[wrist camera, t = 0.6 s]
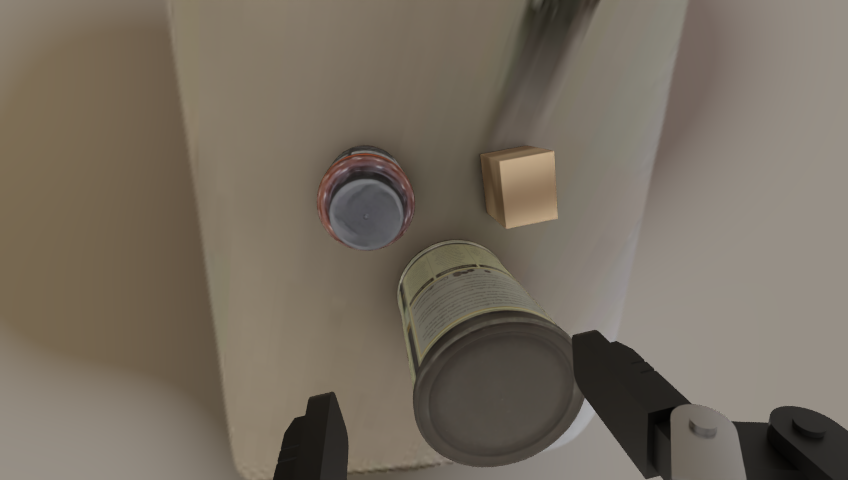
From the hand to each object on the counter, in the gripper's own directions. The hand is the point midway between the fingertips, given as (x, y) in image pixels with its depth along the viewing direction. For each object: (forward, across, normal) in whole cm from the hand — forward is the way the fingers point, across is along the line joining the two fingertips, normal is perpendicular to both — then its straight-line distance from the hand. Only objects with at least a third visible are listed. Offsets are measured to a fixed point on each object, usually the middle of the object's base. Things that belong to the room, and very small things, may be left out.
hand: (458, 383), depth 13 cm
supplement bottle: (+21, +2, -3) cm, 22 cm away
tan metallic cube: (+21, -9, -1) cm, 23 cm away
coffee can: (+21, -3, +8) cm, 23 cm away
